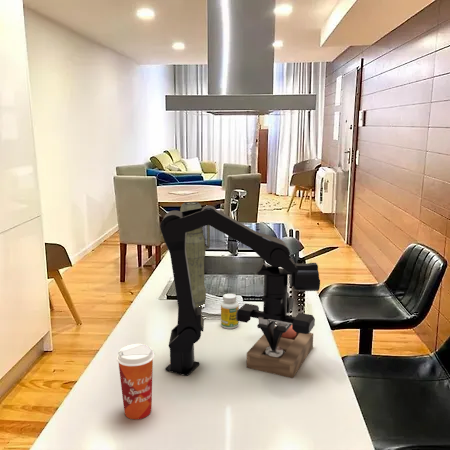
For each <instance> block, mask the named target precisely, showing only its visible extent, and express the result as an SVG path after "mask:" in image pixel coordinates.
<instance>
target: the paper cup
mask: <svg viewBox="0 0 450 450" xmlns="http://www.w3.org/2000/svg"><path fill="white" fill-rule="evenodd" d="M155 356H156V354H155V352H154V349H152V348H151V347H150V346H149V345H147V344H144V343H143V344H142V343H134V344H128V345H125V346H123V347H122V348H120V350H119V351H118V355H117V356H116V362H117V363H118V370H119V379H120V387H121V393H122V401H123V402H122V403H123V410H124V415H125V417H126V418H128V419H129V420H142V419H145V418H147V417H149V416H150V415H151V412H152V403H153V402H152V401H153V369H154V368H153V367H154V365H153V364H154V363H153V362H154V361H153V360H154V358H155Z"/></svg>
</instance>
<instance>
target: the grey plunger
mask: <svg viewBox="0 0 450 450" xmlns="http://www.w3.org/2000/svg"><path fill="white" fill-rule="evenodd" d="M283 354H284V352H283V349H282V348H281V347H278V346H277V349H276V350H275V351H273V350H272V349H271V347H270V346H269V347H267V348H266V351H265V353H264V355H268V356H273V357H278V358H281V357H282V356H283Z"/></svg>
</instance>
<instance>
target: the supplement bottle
mask: <svg viewBox="0 0 450 450" xmlns="http://www.w3.org/2000/svg"><path fill="white" fill-rule="evenodd" d="M222 300H223V301H222V302H221V303H220V325H221V327H222V328H224V329H227V330H233V329H236V328H238V326H239V322H240V321H237V320H236V313H237V310H239V309H240V308H239V307H240V306H239V303H238V301H237V295H236V294H235V293H225V294H223V295H222Z"/></svg>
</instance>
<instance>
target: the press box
mask: <svg viewBox="0 0 450 450" xmlns="http://www.w3.org/2000/svg"><path fill="white" fill-rule="evenodd" d="M276 326H277V325H275V327H276ZM269 346H270V345H269V343H268V341H267V339H266V337H265V335H264V334H262V335H261V337H260V338H259V339H258V340H257V341H256V342H255V343H254V344H253V345H252V347H250V349H248V351H247V352H246V368H247V369H252V370H255V371H260V372H264V373H269V374H274V375H277V376H281V377H285V378H289V377H290V378H289V379H293V378H294V377H295V375H297V374H296V373H297V372H298V371H299V370H300V368H301V367H302V364H303V363H304V362H305V360H306V358H307V357H308V355H309V353H310V352H311V350H312V349H313V346H314V332H310V333H309V334H303V333H298V332H296V338H295V339H294V340H292V339H287V338H282V337H281V338H280V341H279V344H278V347H281V348H282V349H283V356H282V357H281V358H278V357H273V356H268V355H265V351H266V348H267V347H269Z"/></svg>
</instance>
